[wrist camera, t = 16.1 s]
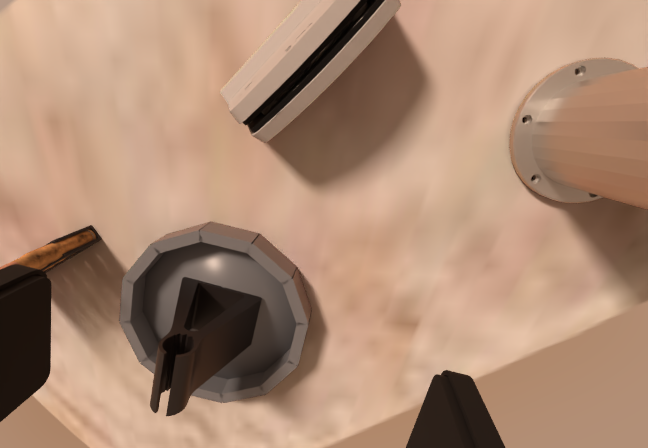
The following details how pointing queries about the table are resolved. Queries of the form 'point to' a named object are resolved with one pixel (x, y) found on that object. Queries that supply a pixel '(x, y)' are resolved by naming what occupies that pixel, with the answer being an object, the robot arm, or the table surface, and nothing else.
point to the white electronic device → (302, 60)
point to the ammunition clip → (58, 250)
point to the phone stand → (201, 339)
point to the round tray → (228, 272)
